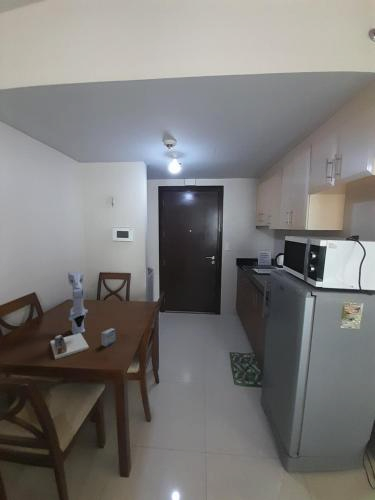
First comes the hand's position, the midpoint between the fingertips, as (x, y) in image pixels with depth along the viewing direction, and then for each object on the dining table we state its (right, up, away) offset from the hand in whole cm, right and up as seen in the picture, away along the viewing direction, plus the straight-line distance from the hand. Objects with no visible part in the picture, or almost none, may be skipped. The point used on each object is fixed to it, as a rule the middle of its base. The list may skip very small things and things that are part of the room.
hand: (79, 326), depth 144 cm
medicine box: (+21, -10, -3) cm, 23 cm away
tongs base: (-7, -9, -10) cm, 15 cm away
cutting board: (-3, -10, -7) cm, 12 cm away
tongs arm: (-6, -9, -10) cm, 15 cm away
